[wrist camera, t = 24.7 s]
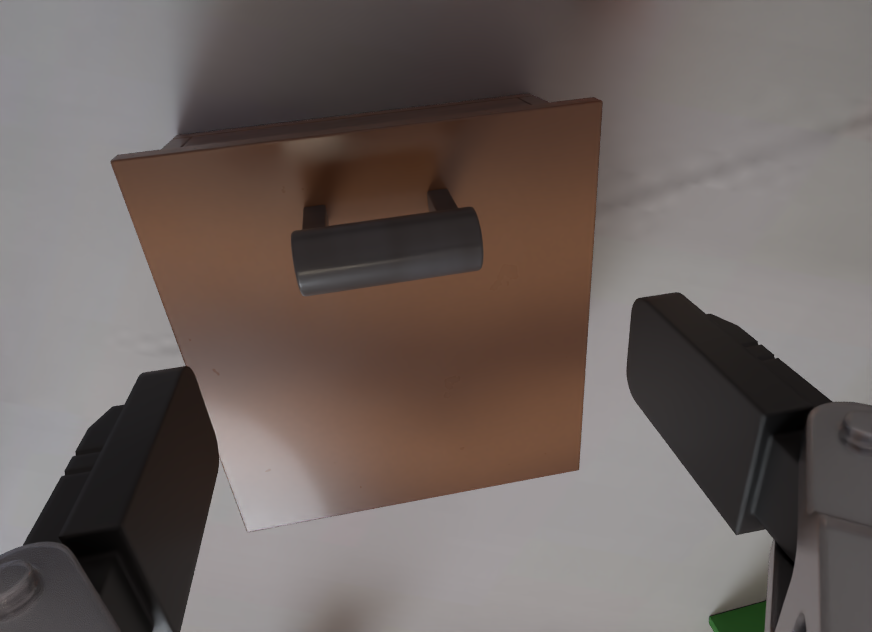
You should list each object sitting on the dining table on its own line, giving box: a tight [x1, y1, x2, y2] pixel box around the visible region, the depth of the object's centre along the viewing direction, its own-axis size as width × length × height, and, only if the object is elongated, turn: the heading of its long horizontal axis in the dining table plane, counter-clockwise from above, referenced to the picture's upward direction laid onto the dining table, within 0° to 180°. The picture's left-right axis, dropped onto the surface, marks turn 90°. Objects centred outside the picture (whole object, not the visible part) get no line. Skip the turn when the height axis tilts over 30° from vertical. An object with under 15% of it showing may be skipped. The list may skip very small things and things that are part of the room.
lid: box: [111, 97, 603, 532], centre depth 21 cm, size 16×15×5 cm
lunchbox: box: [161, 93, 549, 150], centre depth 26 cm, size 16×15×6 cm
